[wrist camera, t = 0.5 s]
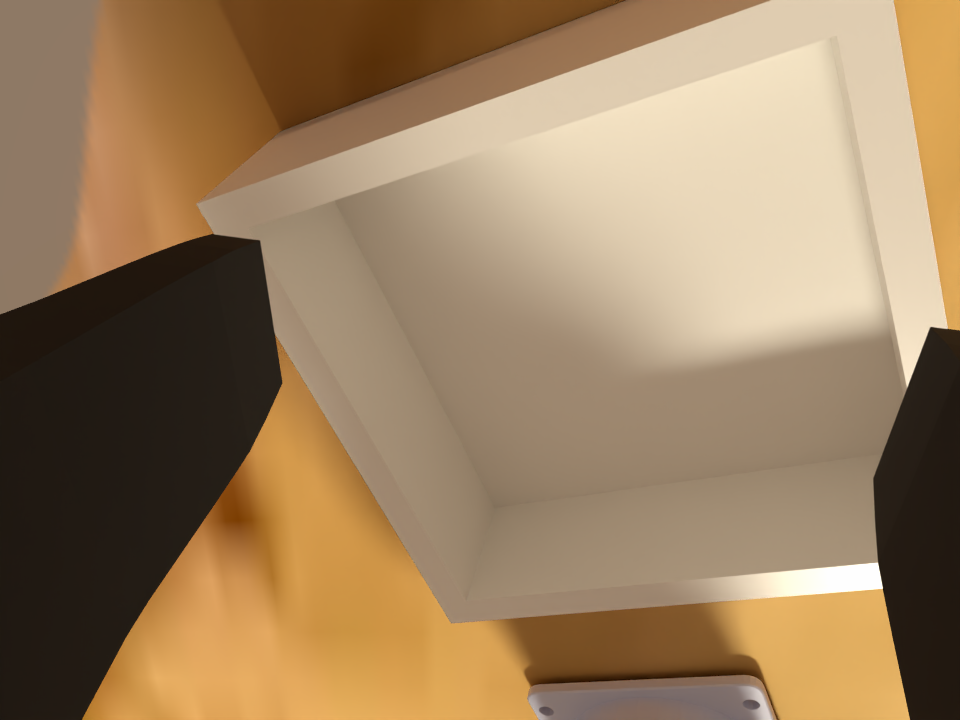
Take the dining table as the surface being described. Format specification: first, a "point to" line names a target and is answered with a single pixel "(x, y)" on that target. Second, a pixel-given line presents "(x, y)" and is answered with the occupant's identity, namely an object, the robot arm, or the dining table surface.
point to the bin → (614, 301)
